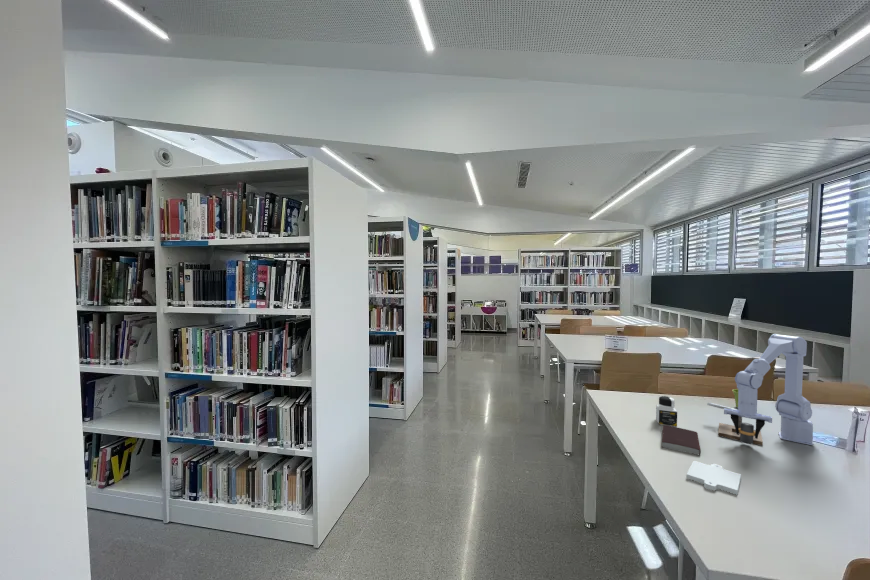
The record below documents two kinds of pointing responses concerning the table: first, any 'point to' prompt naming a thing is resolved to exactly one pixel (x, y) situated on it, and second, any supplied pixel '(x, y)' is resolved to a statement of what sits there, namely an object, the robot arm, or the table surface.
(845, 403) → the table surface
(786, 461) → the table surface
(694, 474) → the mounting plate
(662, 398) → the medicine bottle
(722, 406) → the grey rectangular bar
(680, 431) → the book
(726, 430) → the socket block
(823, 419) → the table surface
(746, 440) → the plug
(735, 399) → the plant pot
